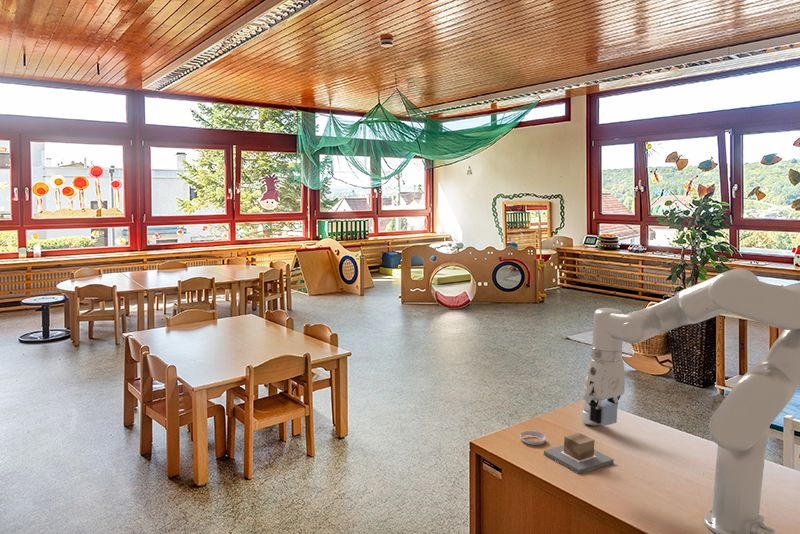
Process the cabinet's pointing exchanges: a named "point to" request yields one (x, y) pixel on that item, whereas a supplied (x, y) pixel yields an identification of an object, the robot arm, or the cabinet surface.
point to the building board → (575, 464)
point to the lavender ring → (533, 435)
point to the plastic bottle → (587, 408)
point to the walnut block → (579, 446)
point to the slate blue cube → (607, 413)
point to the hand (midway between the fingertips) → (602, 419)
